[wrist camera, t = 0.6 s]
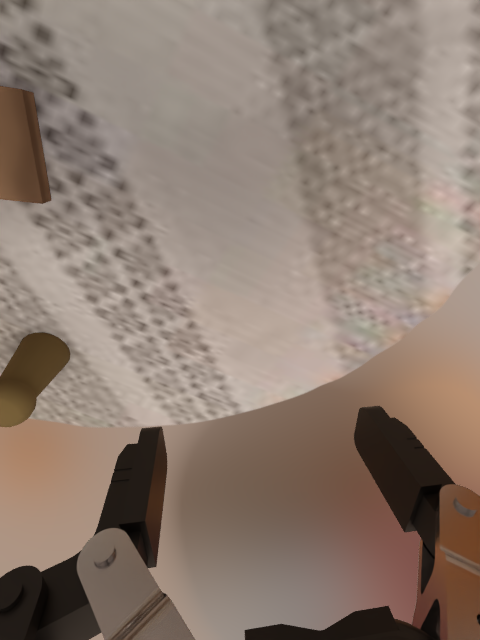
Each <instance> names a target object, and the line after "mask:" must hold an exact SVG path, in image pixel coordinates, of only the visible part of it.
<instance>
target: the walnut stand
mask: <svg viewBox="0 0 480 640" xmlns="http://www.w3.org/2000/svg"><path fill="white" fill-rule="evenodd" d="M0 199H4V200H13V201H22V202H32V203H41V204H43V203H46V202H48V201H51V195H50V189H49V183H48V177H47V172H46V166H45V160H44V154H43V148H42V142H41V136H40V130H39V124H38V118H37V112H36V106H35V100H34V94H33V93H32V92H29V91H25V90H22V89H16V88H9V87H3V86H0Z"/></svg>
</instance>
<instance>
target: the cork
mask: <svg viewBox="0 0 480 640" xmlns="http://www.w3.org/2000/svg"><path fill="white" fill-rule="evenodd" d="M69 359H70V351H69V348H68V347H67V345H66V344H65V343H64V342H63V341H62V340H61V339H59V338H58V337H56V336H54V335H51V334H47V333H33V334H29V335H27V336H26V337H25V338H23V340H22V341H21V343H20V345H19V346H18V348H17V350H16V351H15V353H14V355H13V356H12V358H11V360H10V361H9V363H8V365H7V366H6V368H5V370H4V371H3V373H2V375H1V376H0V427H12V426H15V425H18V424H20V423H22V422H24V421H25V420H26V419H28V418H29V417H30V415H31V414H32V412H33V411H34V409H35V406H36V397H37V396H38V395H39V394H40V393H41V392H42V391H43V390H44V389H45V387H46V386H47V385H48V384H49V383H50V382H51V381H52V380H53V379H54V377H55V376H56V375H57V374H58V373H59V372H60V371H61V370H62V368H63V367H64V366H65V365H66V364H67V363H68V361H69Z"/></svg>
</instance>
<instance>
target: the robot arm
mask: <svg viewBox="0 0 480 640" xmlns="http://www.w3.org/2000/svg"><path fill="white" fill-rule="evenodd" d="M354 440H355V445H356V448H357V450H358V452H359V454H360V456H361V458H362V459H363V461H364V463H365V465H366V466H367V468H368V469H369V471H370V473H371V475H372V477H373V478H374V480H375V482H376V484H377V485H378V487H379V489H380V491H381V492H382V494H383V496H384V498H385V499H386V501H387V503H388V504H389V506H390V508H391V510H392V511H393V513H394V515H395V516H396V518H397V520H398V522H399V524H400V525H401V527H402V529H403V531H404V532H411V531H417V532H418V534H419V535H420V537H421V540H420V544H419V562H418V582H417V600H416V606H415V611H414V615H413V621H412V625H411V624H409V623H406V622H404V621H401V620H398V619H394V618H393V615H392V613H391V611H390V608H389V606H385V607H379V608H373V609H367V610H361V611H355V612H353V613H351V614H350V615H348V616H346V617H345V618H343V619H341V620H340V621H338V622H336V623H335V624H333V625H332V626H330V627H328V628H327V629H325V630H321V631H318V630H312V629H307V628H301V627H296V626H290V625H284V624H278V625H272V626H266V627H261V628H254V629H249V630H245V640H480V496H479V495H478V494H476V493H475V492H473V491H472V490H470V489H468V488H466V487H463V486H460V485H456V484H455V483H454V482H453V481H452V479H451V478H450V477H449V476H448V475H447V473H446V472H445V471H444V470H443V469H442V467H441V466H440V465H439V464H438V463H437V461H436V460H435V459H434V458H433V457H432V455H430V453H429V452H428V451H427V449H425V448H424V446H423V445H422V443H421V442H420V441H419V440H417V438H416V436H415V435H414V434H413V433H412V431H411V430H410V429H409V428H408V427H407V426H406V425H405V424H403V423H402V422H400V421H399V420H398V419H396V418H390V417H389V416H388V415H387V413H386V412H385V411H384V409H383V408H382V407H380V406H373V407H362V408H360V409H359V413H358V418H357V423H356V429H355V433H354ZM166 475H167V453H166V447H165V441H164V435H163V429H162V427H152V428H142V429H141V432H140V436H139V440H138V443H137V444H128V445H126V447H125V448H124V450H123V451H122V452H121V453H120V455H119V456H118V459H117V462H116V466H115V469H114V473H113V476H112V480H111V484H110V486H109V489H108V493H107V496H106V500H105V503H104V507H103V510H102V513H101V517H100V521H99V524H98V527H97V530H96V532H95V534H94V536H93V537H92V538H91V539H90V540H89V541H88V542H87V543H86V544H85V546H84V547H83V549H82V550H81V551H80V552H79V553H77V554H76V555H75V556H73V557H71V558H69V559H68V560H66V561H63V562H62V563H59V564H57V565H55V566H53V567H51V568H48V569H46V570H44V571H42V572H40V571H39V570H38V569H37V568H36V567H33V566H22V567H18V568H16V569H13V570H12V571H10V572H8V573H6V574H5V575H4V576H2V577H1V578H0V640H89V639H91V638H92V637H94V636H96V635H98V634H99V633H101V632H102V634H103V637H104V639H105V640H195V639H194V637H193V635H192V634H191V632H190V630H189V629H188V627H187V625H186V624H185V622H184V620H183V619H182V617H181V615H180V614H179V612H178V611H177V609H176V607H175V606H174V604H173V602H172V601H171V599H170V598H169V597H168V596H167V595H166V594H164V593H163V592H162V591H161V590H160V588H159V586H158V585H157V583H156V582H155V580H154V578H153V577H152V575H151V573H150V572H149V570H148V568H151V567H156V564H157V556H158V547H159V538H160V529H161V520H162V511H163V502H164V493H165V483H166Z"/></svg>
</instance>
